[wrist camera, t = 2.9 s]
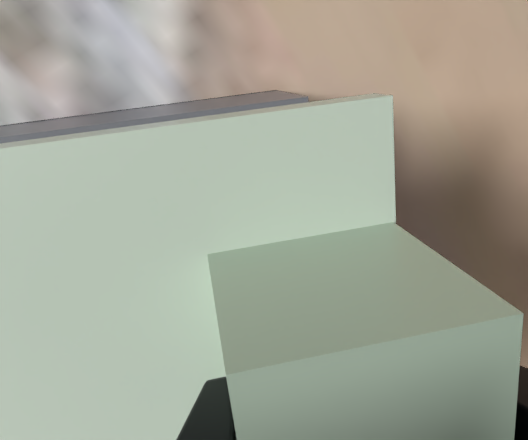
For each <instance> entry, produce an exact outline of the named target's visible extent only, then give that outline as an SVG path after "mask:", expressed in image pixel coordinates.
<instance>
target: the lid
mask: <svg viewBox="0 0 528 440" xmlns="http://www.w3.org/2000/svg"><path fill="white" fill-rule="evenodd" d="M523 314H524V313H522V312H521V311H519V310H518V309H517V308H515V307H514V306H512V305H511V304H509V303H508V302H507V301H505V300H504V299H502V298H501V297H499V296H498V295H497V294H495V293H494V292H492V291H491V290H490V289H488V288H487V287H485V286H484V285H482V284H481V283H480V282H478V281H477V280H475V279H474V278H472V277H471V276H470V275H468V274H467V273H465V272H464V271H462V270H461V269H460V268H458V267H457V266H455V265H454V264H452V263H451V262H450V261H448V260H447V259H445V258H444V257H443V256H441V255H440V254H438V253H437V252H435V251H434V250H433V249H431V248H430V247H428V246H427V245H425V244H424V243H423V242H421V241H420V240H418V239H417V238H415V237H414V236H413V235H411V234H410V233H408V232H407V231H405V230H404V229H403V228H401V227H400V226H398V225H397V224H396V206H395V165H394V125H393V95H385V94H376V93H373V94H365V95H358V96H350V97H343V98H336V99H328V100H321V101H313V102H306V103H298V104H291V105H284V106H276V107H269V108H261V109H254V110H246V111H239V112H232V113H224V114H217V115H209V116H202V117H194V118H187V119H179V120H172V121H165V122H157V123H150V124H142V125H135V126H127V127H120V128H113V129H105V130H98V131H90V132H83V133H75V134H68V135H61V136H53V137H46V138H38V139H31V140H23V141H16V142H9V143H1V144H0V440H176V439H177V437H178V435H179V433H180V431H181V429H182V427H183V425H184V423H185V421H186V419H187V417H188V415H189V413H190V411H191V409H192V407H193V405H194V403H195V401H196V399H197V397H198V395H199V393H200V391H201V389H202V387H203V385H204V383H205V382H206V381H207V380H210V379H215V378H220V377H226V379H227V385H228V391H229V397H230V402H231V408H232V414H233V420H234V426H235V432H236V438H237V440H514V436H515V422H516V409H517V395H518V382H519V368H520V355H521V341H522V328H523Z"/></svg>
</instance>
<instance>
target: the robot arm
mask: <svg viewBox="0 0 528 440" xmlns="http://www.w3.org/2000/svg"><path fill="white" fill-rule="evenodd" d="M176 440H237V438H236V432H235V426H234V420H233V414H232V408H231V402H230V397H229V391H228V385H227V379H226V377H220V378H215V379H210V380H207V381H206V382H205V383H204V385H203V387H202V389H201V391H200V393H199V395H198V397H197V399H196V401H195V403H194V405H193V407H192V409H191V411H190V413H189V415H188V417H187V419H186V421H185V423H184V425H183V427H182V429H181V431H180V433H179V435H178V437H177V439H176ZM514 440H528V368H525V367H522V366H520V368H519V382H518V395H517V409H516V422H515V436H514Z"/></svg>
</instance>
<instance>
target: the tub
mask: <svg viewBox="0 0 528 440" xmlns="http://www.w3.org/2000/svg"><path fill="white" fill-rule="evenodd" d="M306 102H308V97H307V96H302V95H297V94H292V93H287V92H282V91H277V90H273V91H265V92H258V93H250V94H242V95H235V96H227V97H219V98H211V99H204V100H196V101H188V102H180V103H173V104H165V105H157V106H149V107H142V108H134V109H126V110H118V111H111V112H103V113H95V114H88V115H80V116H72V117H64V118H57V119H49V120H41V121H33V122H26V123H18V124H10V125H2V126H0V144H1V143H9V142H16V141H23V140H31V139H38V138H46V137H53V136H61V135H68V134H75V133H83V132H90V131H98V130H105V129H113V128H120V127H127V126H135V125H142V124H150V123H157V122H165V121H172V120H179V119H187V118H194V117H202V116H209V115H217V114H224V113H232V112H239V111H246V110H254V109H261V108H269V107H276V106H284V105H291V104H298V103H306Z"/></svg>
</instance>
